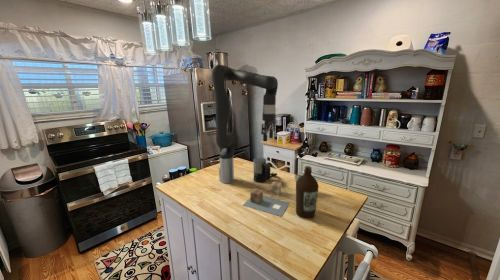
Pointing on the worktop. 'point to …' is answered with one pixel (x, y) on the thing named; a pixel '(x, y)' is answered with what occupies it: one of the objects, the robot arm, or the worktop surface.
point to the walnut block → (256, 196)
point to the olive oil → (306, 194)
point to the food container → (298, 177)
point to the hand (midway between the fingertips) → (268, 139)
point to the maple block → (276, 188)
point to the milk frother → (262, 170)
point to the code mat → (269, 205)
